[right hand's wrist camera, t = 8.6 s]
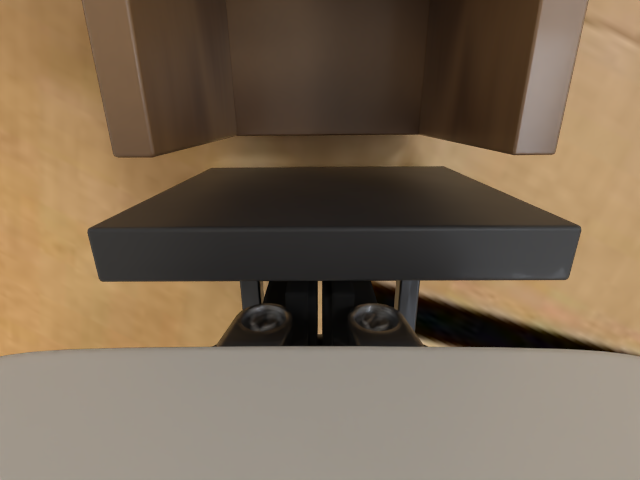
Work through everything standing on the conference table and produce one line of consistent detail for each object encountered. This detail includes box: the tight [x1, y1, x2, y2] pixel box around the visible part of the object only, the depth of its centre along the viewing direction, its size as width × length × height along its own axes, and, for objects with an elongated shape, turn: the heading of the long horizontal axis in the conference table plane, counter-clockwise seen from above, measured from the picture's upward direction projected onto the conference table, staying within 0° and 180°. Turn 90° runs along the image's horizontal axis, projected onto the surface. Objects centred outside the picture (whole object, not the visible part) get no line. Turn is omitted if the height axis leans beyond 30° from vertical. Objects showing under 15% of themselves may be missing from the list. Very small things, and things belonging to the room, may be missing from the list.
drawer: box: [82, 0, 589, 346], centre depth 10 cm, size 19×10×8 cm, turn 0°
